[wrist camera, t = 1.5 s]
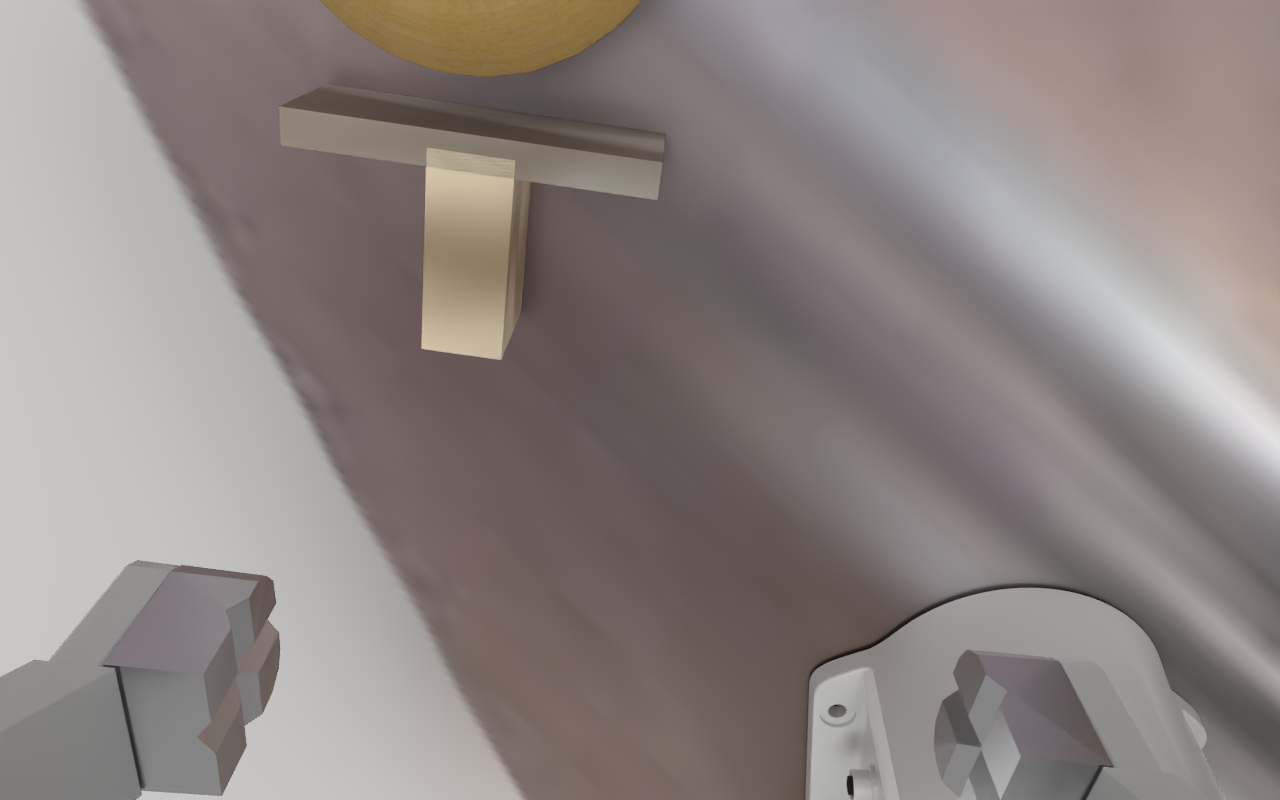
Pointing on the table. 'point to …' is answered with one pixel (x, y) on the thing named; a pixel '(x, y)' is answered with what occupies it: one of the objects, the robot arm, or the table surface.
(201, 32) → the table surface
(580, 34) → the pot
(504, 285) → the scraper
